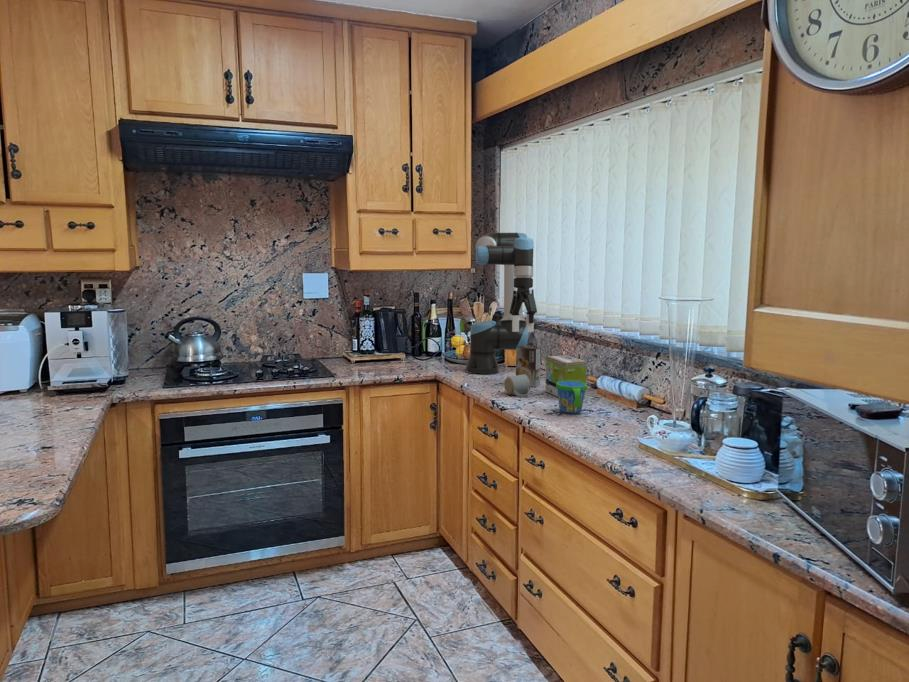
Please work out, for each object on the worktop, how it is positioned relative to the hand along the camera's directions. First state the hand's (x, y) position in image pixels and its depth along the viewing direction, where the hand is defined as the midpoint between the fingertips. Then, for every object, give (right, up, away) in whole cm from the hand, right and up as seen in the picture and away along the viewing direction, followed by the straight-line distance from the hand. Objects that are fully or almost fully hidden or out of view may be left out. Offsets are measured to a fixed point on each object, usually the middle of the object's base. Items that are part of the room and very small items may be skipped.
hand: (522, 331), depth 261 cm
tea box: (+16, -25, -1) cm, 30 cm away
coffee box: (+4, -22, +18) cm, 29 cm away
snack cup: (+14, -29, -28) cm, 43 cm away
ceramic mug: (-2, -25, -1) cm, 25 cm away
